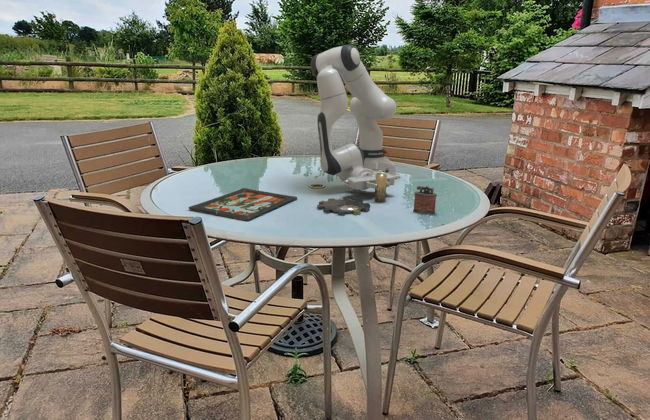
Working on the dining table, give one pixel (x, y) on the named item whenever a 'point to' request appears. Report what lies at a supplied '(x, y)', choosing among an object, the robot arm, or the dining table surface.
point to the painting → (244, 204)
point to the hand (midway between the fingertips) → (382, 185)
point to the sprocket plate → (343, 206)
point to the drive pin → (380, 187)
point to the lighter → (424, 200)
